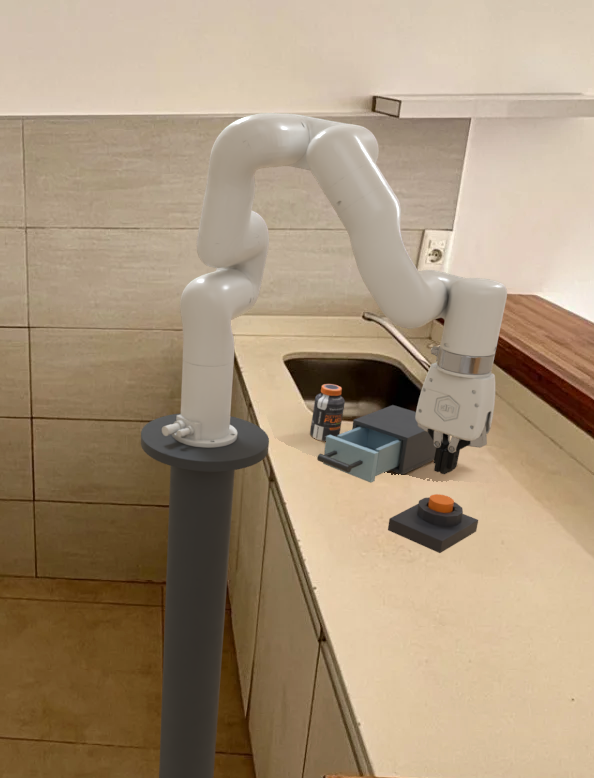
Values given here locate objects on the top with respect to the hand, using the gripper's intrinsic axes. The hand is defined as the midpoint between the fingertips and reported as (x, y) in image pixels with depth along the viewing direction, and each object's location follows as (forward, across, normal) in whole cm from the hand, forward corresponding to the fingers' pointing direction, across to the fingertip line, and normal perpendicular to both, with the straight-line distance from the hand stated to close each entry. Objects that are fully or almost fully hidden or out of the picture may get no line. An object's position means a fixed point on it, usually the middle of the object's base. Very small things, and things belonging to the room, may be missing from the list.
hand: (443, 470), depth 122 cm
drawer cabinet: (+10, -20, +21) cm, 31 cm away
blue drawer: (+10, -20, +8) cm, 24 cm away
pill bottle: (+11, -34, +18) cm, 40 cm away
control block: (+10, +1, -1) cm, 10 cm away
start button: (+7, +1, 0) cm, 7 cm away
